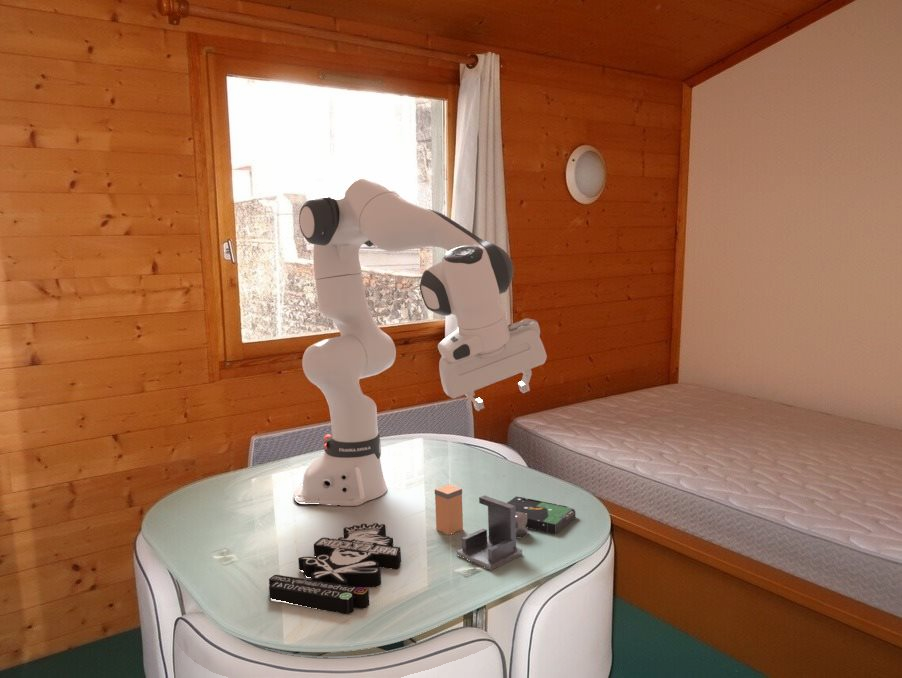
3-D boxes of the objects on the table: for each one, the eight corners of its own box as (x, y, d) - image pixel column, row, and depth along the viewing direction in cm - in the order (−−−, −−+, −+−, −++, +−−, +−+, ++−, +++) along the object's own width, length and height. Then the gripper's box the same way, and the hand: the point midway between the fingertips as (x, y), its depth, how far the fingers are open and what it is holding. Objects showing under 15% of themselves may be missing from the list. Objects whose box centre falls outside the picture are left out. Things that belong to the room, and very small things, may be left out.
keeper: (490, 570, 132) (489, 522, 130) (453, 554, 139) (452, 508, 138) (522, 554, 138) (521, 508, 137) (485, 539, 145) (484, 495, 144)
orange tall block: (449, 535, 148) (447, 494, 146) (436, 529, 151) (434, 489, 149) (463, 529, 151) (462, 488, 149) (450, 523, 153) (448, 484, 152)
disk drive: (494, 523, 154) (557, 536, 146) (493, 511, 154) (556, 524, 146) (515, 507, 163) (576, 518, 155) (515, 495, 163) (576, 506, 155)
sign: (260, 586, 124) (342, 519, 152) (261, 602, 124) (343, 532, 152) (357, 601, 117) (424, 528, 145) (358, 618, 118) (425, 542, 146)
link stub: (509, 538, 145) (509, 520, 145) (507, 530, 149) (506, 512, 149) (529, 537, 146) (528, 518, 145) (525, 529, 150) (525, 511, 149)
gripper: (529, 310, 134) (544, 375, 139) (429, 347, 130) (448, 412, 135) (543, 319, 128) (558, 386, 133) (438, 358, 124) (458, 425, 129)
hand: (502, 400), depth 134 cm, fingers open, 8 cm apart
